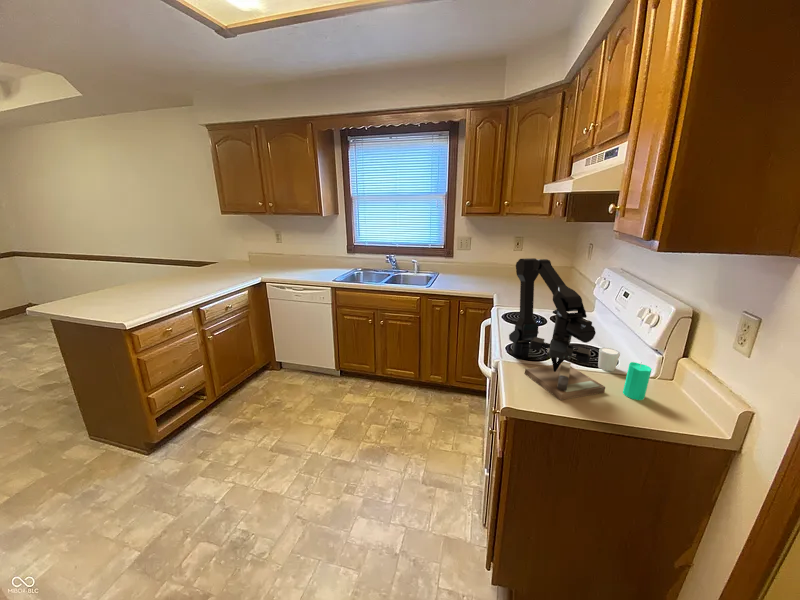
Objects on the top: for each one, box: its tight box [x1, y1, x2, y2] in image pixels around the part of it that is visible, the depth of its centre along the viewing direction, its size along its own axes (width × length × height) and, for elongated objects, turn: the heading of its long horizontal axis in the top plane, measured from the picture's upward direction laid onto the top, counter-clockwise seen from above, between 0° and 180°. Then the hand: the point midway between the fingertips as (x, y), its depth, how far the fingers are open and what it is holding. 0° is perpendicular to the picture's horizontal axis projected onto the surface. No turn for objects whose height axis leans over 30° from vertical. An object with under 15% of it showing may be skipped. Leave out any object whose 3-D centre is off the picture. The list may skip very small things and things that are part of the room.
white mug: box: [597, 347, 621, 372], centre depth 132 cm, size 7×7×7 cm
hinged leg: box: [557, 361, 572, 390], centre depth 117 cm, size 15×3×4 cm, turn 152°
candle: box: [622, 361, 652, 401], centre depth 113 cm, size 6×6×12 cm
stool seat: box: [524, 364, 606, 401], centre depth 121 cm, size 18×18×2 cm
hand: (554, 371), depth 122 cm, fingers closed
